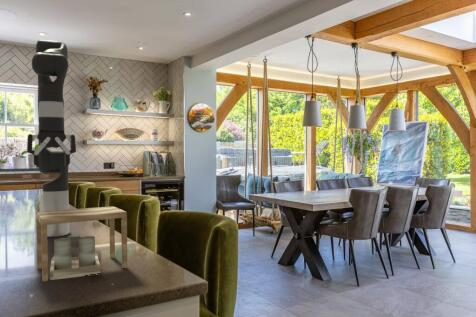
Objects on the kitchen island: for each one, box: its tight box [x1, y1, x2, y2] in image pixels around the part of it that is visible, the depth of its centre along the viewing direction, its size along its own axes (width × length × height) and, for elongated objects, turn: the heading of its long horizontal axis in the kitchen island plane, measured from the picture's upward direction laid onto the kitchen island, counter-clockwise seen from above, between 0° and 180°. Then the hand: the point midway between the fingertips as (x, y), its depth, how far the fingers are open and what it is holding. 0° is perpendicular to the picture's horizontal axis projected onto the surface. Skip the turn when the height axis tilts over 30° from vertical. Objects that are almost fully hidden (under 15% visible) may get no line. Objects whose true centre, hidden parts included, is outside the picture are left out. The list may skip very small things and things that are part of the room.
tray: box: [49, 234, 102, 281], centre depth 113 cm, size 22×12×9 cm, turn 23°
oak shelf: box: [35, 206, 129, 283], centre depth 110 cm, size 14×21×16 cm, turn 122°
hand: (52, 166), depth 130 cm, fingers open, 8 cm apart
